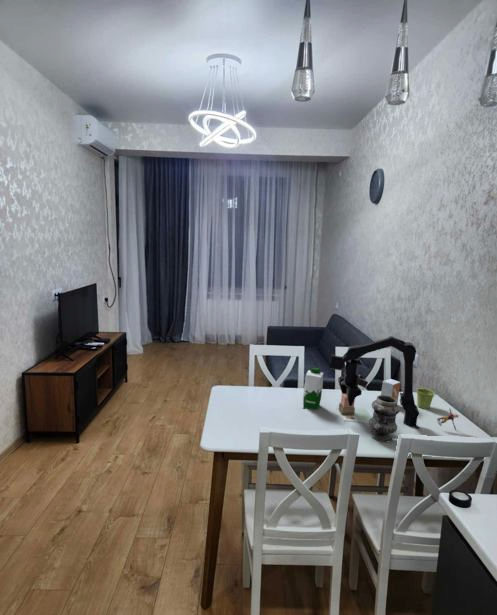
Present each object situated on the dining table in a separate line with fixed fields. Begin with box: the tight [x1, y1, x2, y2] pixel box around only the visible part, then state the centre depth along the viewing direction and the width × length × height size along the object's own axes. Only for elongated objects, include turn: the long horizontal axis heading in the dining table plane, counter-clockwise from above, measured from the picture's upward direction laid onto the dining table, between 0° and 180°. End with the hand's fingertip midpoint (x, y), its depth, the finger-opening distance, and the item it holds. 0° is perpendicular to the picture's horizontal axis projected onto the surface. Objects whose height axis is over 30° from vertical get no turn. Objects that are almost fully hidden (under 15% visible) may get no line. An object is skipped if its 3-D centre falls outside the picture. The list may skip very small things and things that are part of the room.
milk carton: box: [302, 367, 324, 410], centre depth 211 cm, size 9×9×20 cm
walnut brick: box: [338, 402, 356, 416], centre depth 207 cm, size 6×6×4 cm
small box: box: [380, 378, 401, 404], centre depth 223 cm, size 8×6×13 cm
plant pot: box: [416, 387, 436, 410], centre depth 224 cm, size 9×9×9 cm
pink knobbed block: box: [340, 393, 356, 408], centre depth 206 cm, size 5×5×6 cm
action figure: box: [436, 408, 459, 431], centre depth 198 cm, size 12×3×9 cm
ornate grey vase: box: [368, 394, 401, 443], centre depth 184 cm, size 12×12×18 cm
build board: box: [334, 407, 373, 423], centre depth 206 cm, size 16×16×1 cm
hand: (347, 402), depth 206 cm, fingers open, 9 cm apart
